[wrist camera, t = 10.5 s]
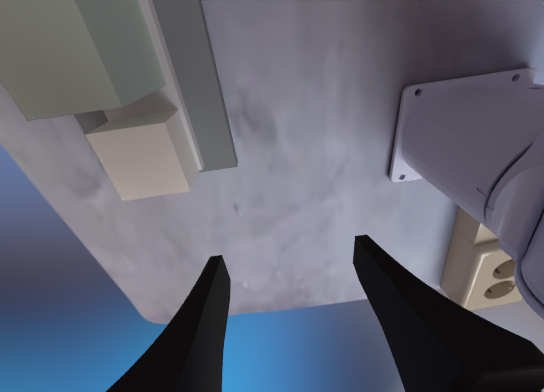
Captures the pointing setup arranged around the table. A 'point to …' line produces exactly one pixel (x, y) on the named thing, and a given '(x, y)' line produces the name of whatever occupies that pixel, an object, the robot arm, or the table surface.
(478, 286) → the electrical outlet
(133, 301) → the table surface
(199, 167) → the rail board
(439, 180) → the robot arm
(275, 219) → the table surface
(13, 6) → the block
